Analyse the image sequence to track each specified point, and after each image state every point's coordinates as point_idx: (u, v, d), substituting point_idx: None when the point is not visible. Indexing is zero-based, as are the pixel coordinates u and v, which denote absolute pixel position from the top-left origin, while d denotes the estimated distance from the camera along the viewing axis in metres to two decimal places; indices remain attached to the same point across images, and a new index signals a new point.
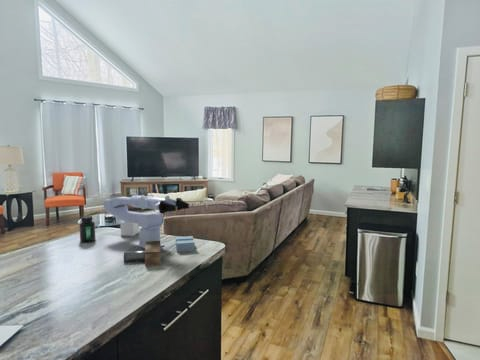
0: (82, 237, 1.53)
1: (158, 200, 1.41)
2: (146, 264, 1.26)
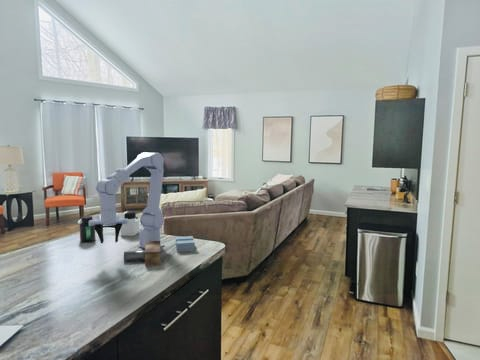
0: (82, 237, 1.53)
1: (102, 213, 1.25)
2: (146, 264, 1.26)
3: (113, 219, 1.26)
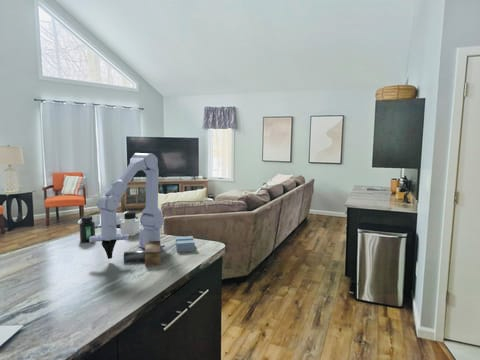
0: (82, 237, 1.53)
1: (102, 229, 1.26)
2: (146, 264, 1.26)
3: (114, 235, 1.27)
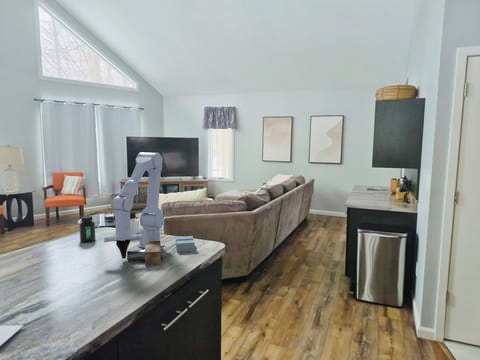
0: (82, 237, 1.53)
1: (117, 230, 1.27)
2: (146, 264, 1.26)
3: (128, 235, 1.28)
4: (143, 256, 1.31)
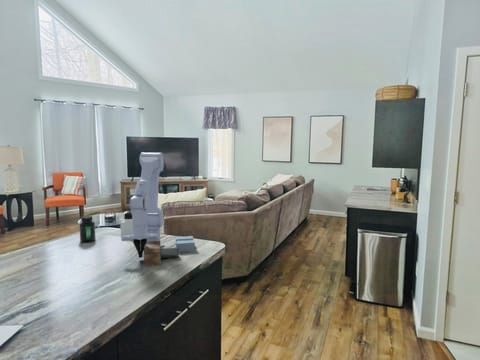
0: (82, 237, 1.53)
1: (134, 229, 1.29)
2: (146, 264, 1.26)
3: (145, 234, 1.30)
4: (160, 255, 1.33)
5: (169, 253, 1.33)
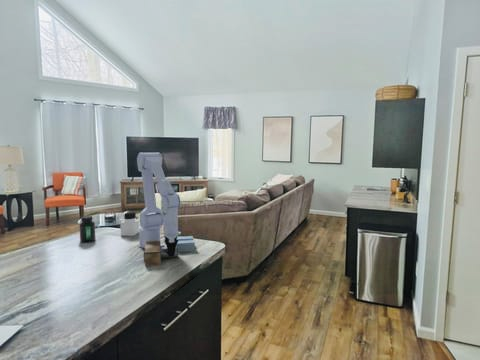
0: (82, 237, 1.53)
1: (175, 226, 1.32)
2: (146, 264, 1.26)
3: None
4: None
5: None
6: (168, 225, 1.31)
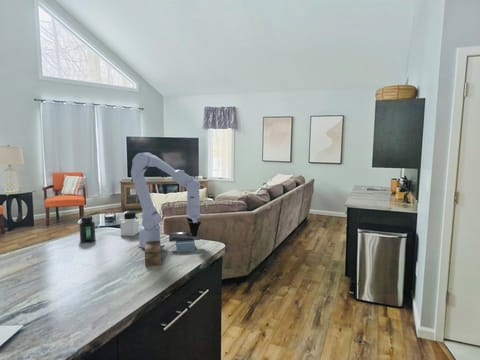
0: (82, 237, 1.53)
1: (198, 208, 1.45)
2: (146, 264, 1.26)
3: None
4: (183, 238, 1.45)
5: (191, 236, 1.46)
6: (191, 207, 1.44)
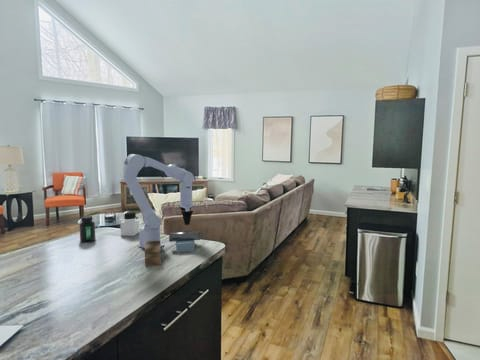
0: (82, 237, 1.53)
1: (190, 198, 1.54)
2: (146, 264, 1.26)
3: None
4: (183, 238, 1.45)
5: (191, 236, 1.46)
6: (184, 197, 1.52)
